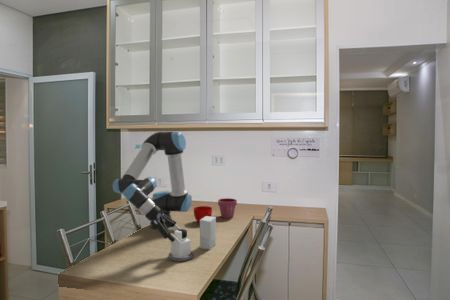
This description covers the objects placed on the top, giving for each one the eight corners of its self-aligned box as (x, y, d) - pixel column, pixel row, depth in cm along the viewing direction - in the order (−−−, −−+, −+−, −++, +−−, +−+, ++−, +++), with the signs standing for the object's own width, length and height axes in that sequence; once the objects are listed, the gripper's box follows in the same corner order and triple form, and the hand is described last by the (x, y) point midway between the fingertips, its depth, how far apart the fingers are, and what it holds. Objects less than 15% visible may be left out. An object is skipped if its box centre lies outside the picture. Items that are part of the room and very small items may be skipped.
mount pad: (170, 252, 141) (170, 249, 140) (194, 251, 141) (194, 249, 141) (166, 262, 129) (166, 259, 129) (192, 261, 129) (192, 259, 129)
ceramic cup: (201, 227, 181) (201, 212, 181) (190, 221, 195) (190, 207, 195) (218, 224, 188) (218, 210, 188) (206, 218, 203) (206, 205, 202)
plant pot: (232, 213, 218) (232, 197, 217) (239, 217, 205) (239, 200, 204) (215, 215, 212) (215, 198, 212) (222, 219, 199) (222, 202, 199)
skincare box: (205, 243, 153) (205, 215, 153) (216, 244, 151) (216, 216, 150) (199, 248, 145) (199, 219, 145) (210, 250, 143) (210, 220, 143)
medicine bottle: (181, 250, 140) (181, 227, 140) (191, 253, 135) (191, 229, 135) (170, 254, 134) (170, 230, 134) (180, 258, 130) (180, 233, 130)
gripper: (150, 209, 146) (178, 236, 147) (137, 222, 121) (171, 255, 122) (160, 199, 146) (188, 226, 147) (149, 210, 121) (183, 243, 122)
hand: (181, 239), depth 134 cm, fingers open, 13 cm apart
